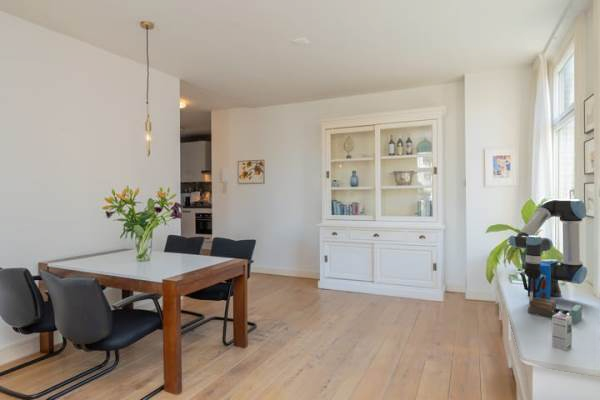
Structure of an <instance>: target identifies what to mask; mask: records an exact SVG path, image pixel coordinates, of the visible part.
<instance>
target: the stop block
mask: <svg viewBox="0 0 600 400" xmlns="http://www.w3.org/2000/svg"><path fill="white" fill-rule="evenodd" d="M582 306H583V305H580V304H575V305H574V306H573V307H572V308H570V311H571V316H572V324H574V325H577V324H578V323H579V322H580V321H581V319H582V314H583V313H582V312H583V311H582V310H583V309H582V308H583V307H582Z"/></svg>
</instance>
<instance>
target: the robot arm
mask: <svg viewBox="0 0 600 400" xmlns="http://www.w3.org/2000/svg"><path fill="white" fill-rule="evenodd" d="M586 216H587V206H586V204H585V202H583V201H582V200H581V199H573V198H572V199H571V198H567V199H566V198H563V199H562V198H561V199H560V198H552V199H549V200H547V201H544V202H543V203H541V204H540V205H539V206H538V207H537V208H536V209H535V211H534V214H532V216H531V217H530V219H528V221H527V222H526V224H525V225H524V226H523V228H521V230H520V231H519V233H517V234H512V235H510V236H509V238H508V244H509V246H510V247H513V248H516V249H517V248H518V249H525V267H524V268H525V269H524V270H523V272H520V273H519V275H520V277H521V279H522V284H523V289H524V290H525V291H527V297H528V298H529V297H530V301H531V300H533V299H534V298H536V292H539V291H540V289H541V286H542V283H543V280H544V279H545V278H546V276H543V275H542V274H541V264H540V263H546V264H550V265H551V284H550V297H561V296H562V290H561V287H560V285H559V282H560V281H561V282H565V283H571V284H577V285H580V284H583V283H584V282H585V280H586V278H587V275H588V269H587V266H584V263H583V261H582V260H581V259H580V257H581V255H580V247H581V246H580V223H581V222H582V221H583V220H584V219H585V217H586ZM553 217H557V218H559V222H561V223H562V257H563V258H562V259H561V260H559V259H549V258H547V259H542V252H546V251H549V250H552V248H553V246H554V243H553V241H552V240H551V239H550V238H548V237H541V236H539V235H536V233H537V232H538V231H539V230H540V229H541V227H542V226H543V225H544V224H545V223H546V221H547V220H548V221H549V220H550V219H551V218H553ZM539 276H540V278H541V279H540V281H539V284H538V287H537V278H538V277H539ZM532 279H533V291H531V288H532Z"/></svg>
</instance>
